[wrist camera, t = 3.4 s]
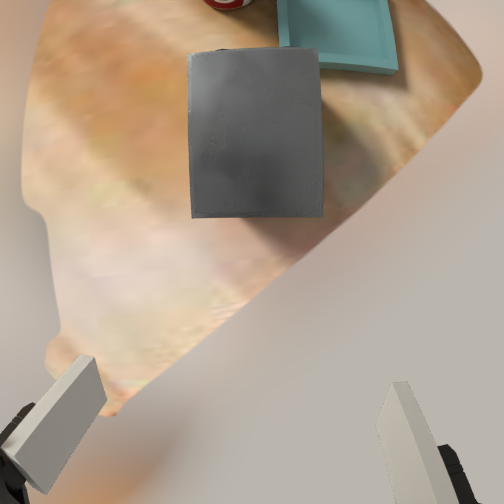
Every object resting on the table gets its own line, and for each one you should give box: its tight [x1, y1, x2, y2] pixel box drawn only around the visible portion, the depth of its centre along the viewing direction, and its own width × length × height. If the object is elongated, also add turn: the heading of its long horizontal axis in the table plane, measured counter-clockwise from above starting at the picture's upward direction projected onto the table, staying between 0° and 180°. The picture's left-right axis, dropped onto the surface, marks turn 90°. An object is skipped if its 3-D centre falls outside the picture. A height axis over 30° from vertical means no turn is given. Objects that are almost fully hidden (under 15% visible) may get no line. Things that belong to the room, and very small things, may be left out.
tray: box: [276, 0, 399, 76], centre depth 24 cm, size 12×12×2 cm
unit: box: [188, 46, 323, 218], centre depth 24 cm, size 14×9×12 cm, turn 1°
